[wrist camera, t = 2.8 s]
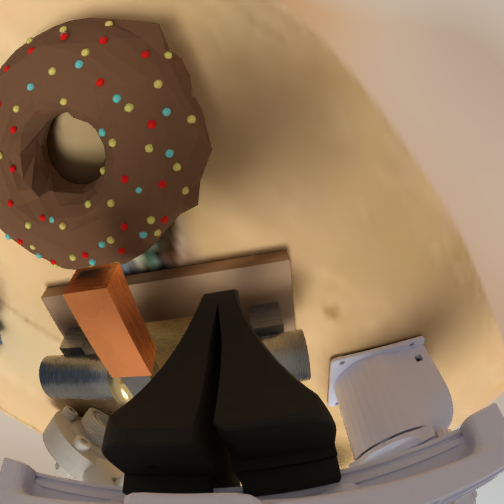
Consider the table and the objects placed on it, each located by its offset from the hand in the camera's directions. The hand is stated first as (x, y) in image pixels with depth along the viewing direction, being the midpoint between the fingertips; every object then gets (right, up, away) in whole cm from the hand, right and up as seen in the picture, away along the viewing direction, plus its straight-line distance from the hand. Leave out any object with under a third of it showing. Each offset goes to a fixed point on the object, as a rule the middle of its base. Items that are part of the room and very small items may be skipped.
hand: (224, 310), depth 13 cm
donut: (-8, +9, +4) cm, 13 cm away
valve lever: (-4, -3, +2) cm, 5 cm away
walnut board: (-5, -3, +10) cm, 12 cm away
